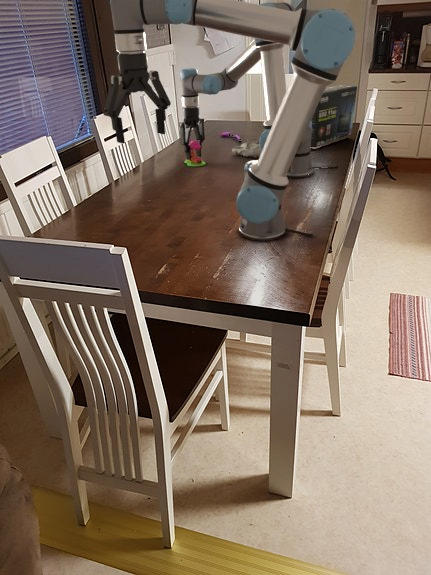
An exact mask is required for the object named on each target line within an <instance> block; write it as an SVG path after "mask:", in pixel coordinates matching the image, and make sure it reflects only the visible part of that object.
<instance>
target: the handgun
mask: <svg viewBox="0 0 431 575" xmlns="http://www.w3.org/2000/svg"><path fill="white" fill-rule="evenodd" d="M230 132H231V133H232V132H233V131H230ZM228 133H229V132H221V136H222V137H230V136H229V135H222V134H228ZM235 136H236V137H237V138H238V139H239V140H241V139H242V138H241V137H240V136H239V135H237V134H236V135H235ZM231 137H232V138H233V139H236V138H235V137H233V136H231ZM238 142H239V143H242V142H243V140H242V141H238Z"/></svg>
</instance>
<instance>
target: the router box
mask: <svg viewBox="0 0 431 575" xmlns="http://www.w3.org/2000/svg"><path fill="white" fill-rule="evenodd" d="M357 93H358V86H356V85H350V84H339V85H338V84H337V85H334V86H327V87H326V88H325V90H324V92H323V94H322V97H321V99H320V101H319V103H318V105H317V108H316V110H315V112H314V114H313V116H312V119H311V122H312V134H311V147H317V146H320V145H323V144H325V143H328V142H331V141H333V140H336V139H338V138H341V137H344V136H347V135H351V136H352V133H353V132H352V131H353V125H354V115H355V109H356V99H357ZM310 151H313V150H312V149H311V150H310Z"/></svg>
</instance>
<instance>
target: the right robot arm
mask: <svg viewBox="0 0 431 575" xmlns="http://www.w3.org/2000/svg"><path fill="white" fill-rule="evenodd" d="M258 5H263V6H268V7H273V8H278V9H283V10H288V11H293V12H296V11H297V10H296V8H295V7H294V6H293V5H292V4H290V3H288V2H284V1H283V2H269V1H268V2H264V3H260V4H258ZM251 39H252V41H251V42H250V43H249V44H248V45H247V46H246V47H245V48H243V50H242V51H241V52H240V53H239V54H238V55H237V56H236V57H235V58H234V59H233V60H232V61H231V62H229V64H228V65H227V66H226V67H225V68H224V69H223V70H221V71H220V72H215V73H207V74H199V73H198V69H197V68H195V67H194V68H192V67H191V68H189V67H188V68H183V69H181V70H180V78H179V81H180V90H181V106H182V116H183V120H182V122H178V127H179V143H180V145H182V146H183V148H184V149H183V150H184V153H185V160H186V159H188V160H191V151H190V145H189V144H190V141H191V140H190V139H191V132H192V130H193V133H194V136H195V139H196V141H197V142H199V143H200V146H201V148H200V150H196V151H197V152H196V154H197V158H198V157H199V158H202V148H203V145H202V144H203V143H204V141H205V140H206V135H205V118H202V117H200V107H199V105H200V100H199V98H200V97H199V94H203V95H209V96H211V95H218V93H219V92H224V91H228V90H229V91H230V90H232V89H234V88H236V87H237V86H238V83H239V80H241V79H242V78H243V77H244V76H245V75H246V74H247V73H248V72H249V71H250V70H251V69H252V68H254V67H255V66H256V65H257V64H258V63H259V62H260V65H261V75H262V85H263V93H264V94H263V95H264V97H263V98H264V105H265V106H264V107H265V116H266V119H265V121H264V122H263V123H262V128H263V132H262V133H261V135H260V136H259V139H258V142H259V143H260V147H261V150H263V147H264V145H265V142H266V140H267V137H268V135H269V133H270V130H271V128H272V125H273V123H274V120H275V118H276V115H277V113H278V110H279V108H280V106H281V103H282V101H283V98H284V96H285V93H286V91H287V81H286V80H287V78H286V68H285V67H286V65H285V53H284V52H285V51H284V48H285V46H287V45H286V44H281V43H276V42H271V41H266V40H261V39H257V38H252V37H251ZM311 134H312V122H311V121H310V123H309V125H308V128H307V130H306V132H305V134H304V136H303V139H302V141H301V143H300V145H299V147H298V150H297V152H296V154H295V156H294V159H293V161H292V163H291V165H290V167H289V170H288V172H287V174H286V175H287V178H288V179H303V178H308V177H311V176H312V175H313V174H314V170H315V169H314V168H319V169H318V170H333V169H338V168H339V165H335V166H336V167H332V166H327V167H328V168H321V167H322V166H313V162H312V159H311V150H310V147H311ZM196 154H195V155H196ZM308 174H309V175H308Z"/></svg>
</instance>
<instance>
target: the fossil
mask: <svg viewBox="0 0 431 575" xmlns="http://www.w3.org/2000/svg"><path fill="white" fill-rule="evenodd" d="M231 151H232V154H233V153H234V154H233V155H234V156H242V155H243V157H248V156H249V157H252V156H258V157H253V159H257V158H258V159H259V157H260V155H261V152H262V150H261V147H260V143H259V140H258V139H253V138H248V139H247V141H246V142H243V143H242V144H240V145H236V146H234V147H233V148H231ZM249 157H248V158H249Z"/></svg>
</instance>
